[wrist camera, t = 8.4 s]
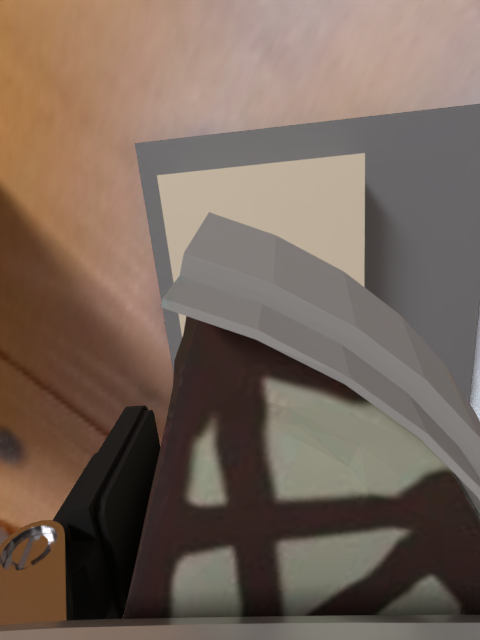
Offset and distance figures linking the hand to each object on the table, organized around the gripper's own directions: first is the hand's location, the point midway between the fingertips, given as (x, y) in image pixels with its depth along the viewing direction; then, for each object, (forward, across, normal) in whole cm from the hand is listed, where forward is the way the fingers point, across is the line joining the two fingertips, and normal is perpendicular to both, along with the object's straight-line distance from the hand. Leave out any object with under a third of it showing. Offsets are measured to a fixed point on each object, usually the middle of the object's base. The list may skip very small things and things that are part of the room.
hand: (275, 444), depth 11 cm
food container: (+4, 0, 0) cm, 4 cm away
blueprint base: (+16, -3, 0) cm, 16 cm away
